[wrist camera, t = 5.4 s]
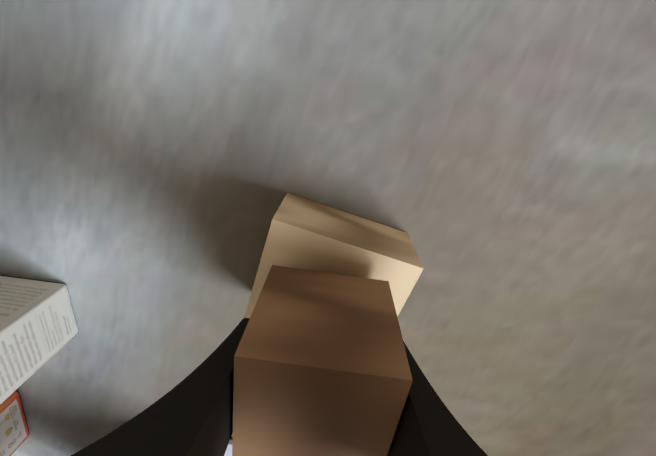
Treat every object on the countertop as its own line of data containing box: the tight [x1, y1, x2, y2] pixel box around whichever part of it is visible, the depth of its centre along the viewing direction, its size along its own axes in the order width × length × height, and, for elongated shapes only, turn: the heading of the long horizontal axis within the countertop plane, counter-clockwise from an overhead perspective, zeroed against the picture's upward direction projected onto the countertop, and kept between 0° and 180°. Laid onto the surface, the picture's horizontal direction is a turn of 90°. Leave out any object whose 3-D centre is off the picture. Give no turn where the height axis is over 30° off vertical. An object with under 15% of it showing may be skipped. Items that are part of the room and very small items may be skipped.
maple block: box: [244, 193, 424, 318], centre depth 17 cm, size 7×7×4 cm
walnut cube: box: [232, 265, 413, 456], centre depth 12 cm, size 5×5×5 cm
